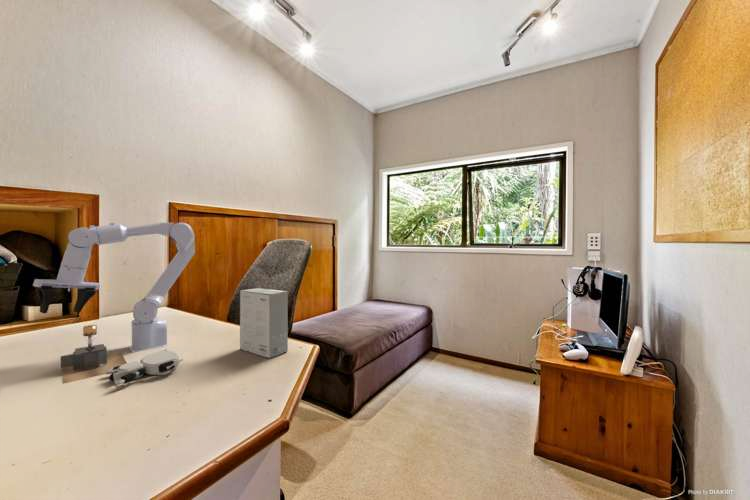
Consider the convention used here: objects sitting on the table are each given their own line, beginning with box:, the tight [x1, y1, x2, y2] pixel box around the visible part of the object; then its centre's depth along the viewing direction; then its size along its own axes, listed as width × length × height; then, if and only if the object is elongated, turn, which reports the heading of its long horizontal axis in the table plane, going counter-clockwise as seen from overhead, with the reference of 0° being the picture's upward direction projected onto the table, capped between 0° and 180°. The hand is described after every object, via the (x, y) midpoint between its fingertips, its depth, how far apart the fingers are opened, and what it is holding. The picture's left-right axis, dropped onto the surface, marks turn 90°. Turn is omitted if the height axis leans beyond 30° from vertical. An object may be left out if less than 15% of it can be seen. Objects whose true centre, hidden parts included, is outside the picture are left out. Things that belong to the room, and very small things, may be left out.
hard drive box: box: [239, 287, 289, 359], centre depth 101 cm, size 16×8×20 cm, turn 58°
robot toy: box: [105, 348, 184, 386], centre depth 81 cm, size 12×4×15 cm
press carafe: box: [60, 343, 108, 371], centre depth 85 cm, size 9×7×5 cm
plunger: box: [82, 324, 98, 350], centre depth 86 cm, size 5×5×7 cm
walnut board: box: [61, 351, 127, 385], centre depth 86 cm, size 13×18×1 cm
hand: (60, 312), depth 90 cm, fingers open, 7 cm apart
